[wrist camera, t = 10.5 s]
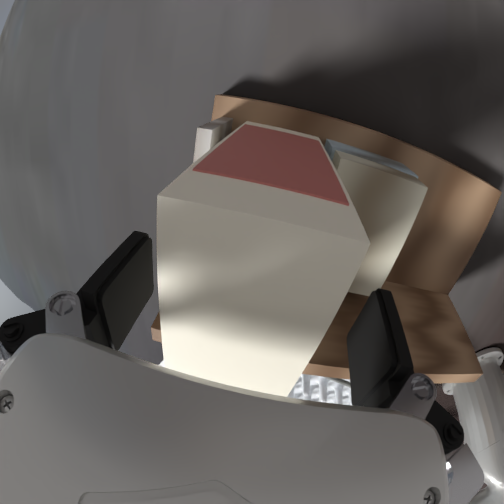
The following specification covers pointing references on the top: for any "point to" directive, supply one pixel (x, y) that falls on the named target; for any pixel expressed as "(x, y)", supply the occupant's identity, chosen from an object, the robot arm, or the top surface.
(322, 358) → the shelf
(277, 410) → the robot arm
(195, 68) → the top surface
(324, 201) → the boxed book
